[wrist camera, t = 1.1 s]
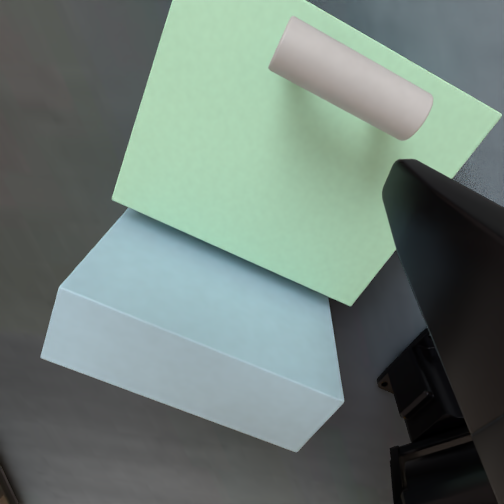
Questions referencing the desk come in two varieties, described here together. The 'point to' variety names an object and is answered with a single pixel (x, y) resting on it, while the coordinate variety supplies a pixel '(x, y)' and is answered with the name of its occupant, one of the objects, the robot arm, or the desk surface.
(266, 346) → the tank
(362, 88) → the brew lid
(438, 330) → the robot arm
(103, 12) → the desk surface
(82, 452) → the desk surface
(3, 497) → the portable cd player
